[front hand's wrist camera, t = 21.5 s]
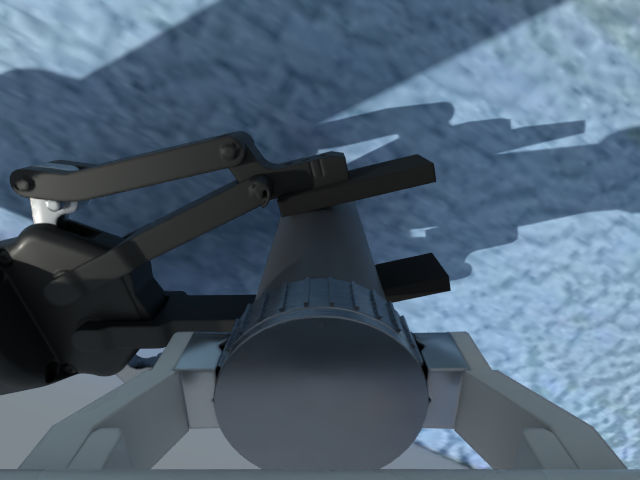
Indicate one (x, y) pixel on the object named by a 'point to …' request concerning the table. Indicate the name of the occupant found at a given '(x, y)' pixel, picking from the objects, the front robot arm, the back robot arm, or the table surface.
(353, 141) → the table surface
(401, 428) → the lid
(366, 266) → the dark grey cylinder
